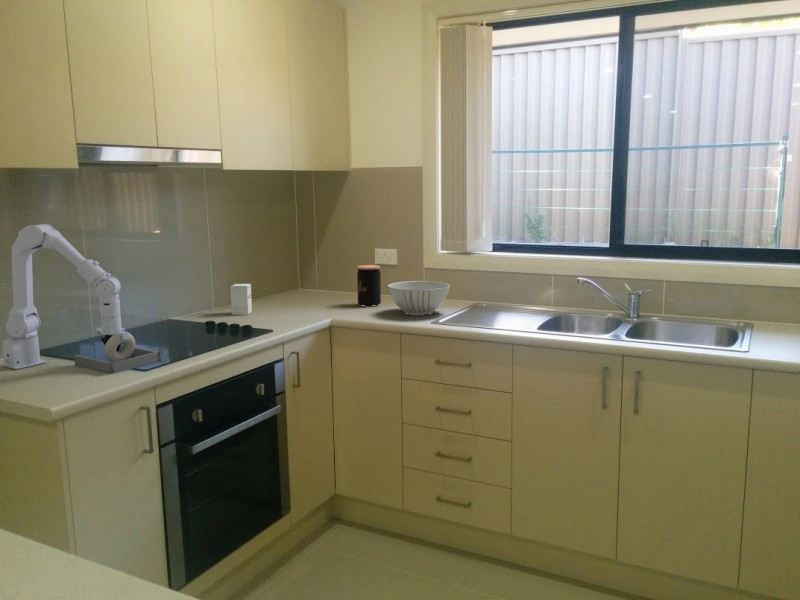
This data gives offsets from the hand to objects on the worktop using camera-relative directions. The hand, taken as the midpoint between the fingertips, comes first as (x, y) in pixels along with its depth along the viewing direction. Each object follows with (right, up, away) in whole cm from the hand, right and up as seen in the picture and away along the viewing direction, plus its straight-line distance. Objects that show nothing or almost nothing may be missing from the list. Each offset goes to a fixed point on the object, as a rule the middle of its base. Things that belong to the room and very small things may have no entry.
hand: (114, 358), depth 209 cm
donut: (+1, -1, -1) cm, 2 cm away
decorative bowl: (+98, +13, +79) cm, 127 cm away
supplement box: (+21, +12, +81) cm, 85 cm away
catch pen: (+2, -1, -1) cm, 2 cm away
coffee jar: (+75, +16, +100) cm, 126 cm away
